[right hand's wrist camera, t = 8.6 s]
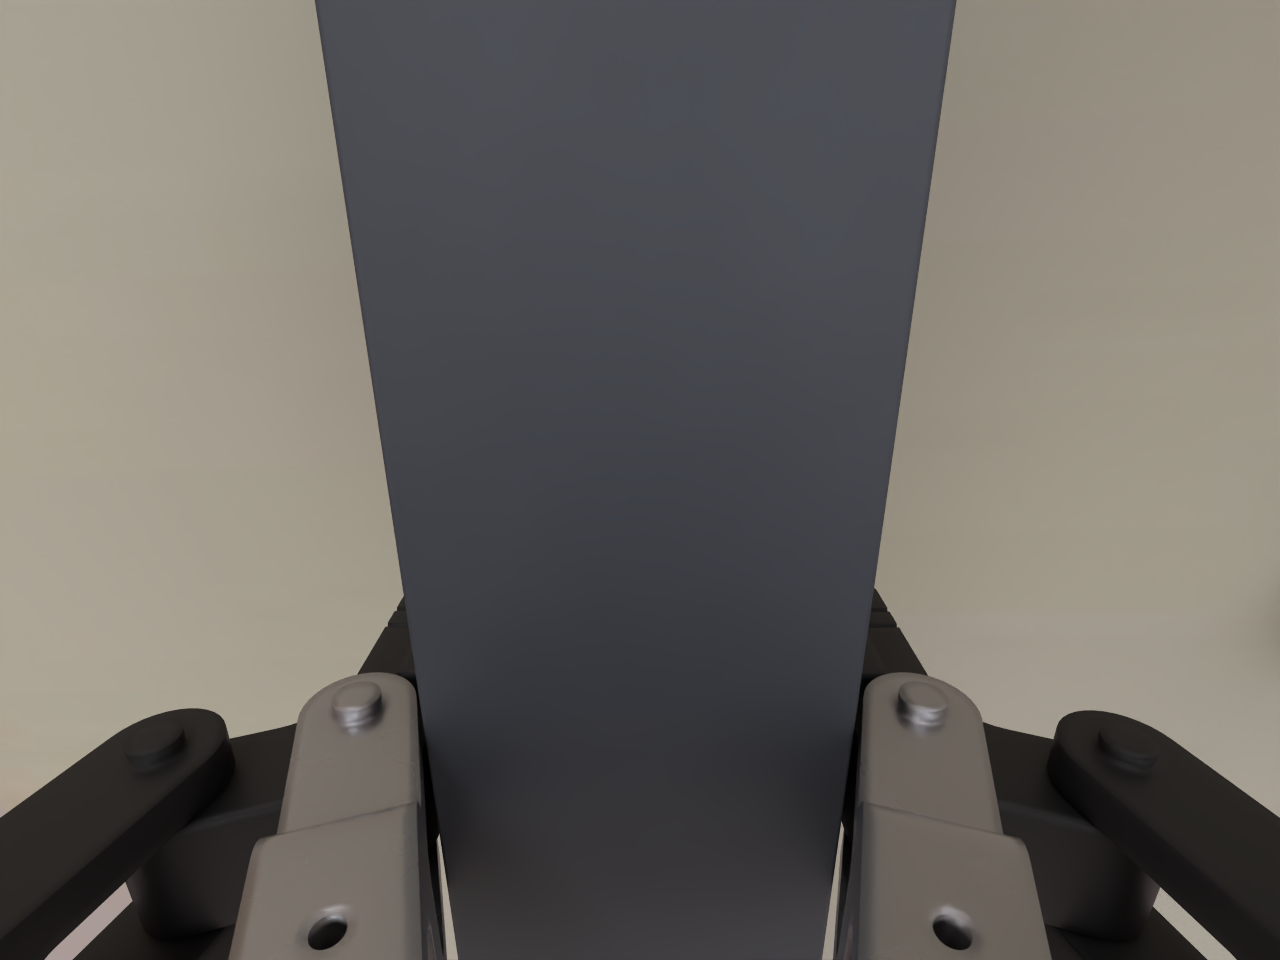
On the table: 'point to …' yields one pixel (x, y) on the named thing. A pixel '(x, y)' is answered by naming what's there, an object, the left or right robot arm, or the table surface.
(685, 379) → the post
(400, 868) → the right robot arm
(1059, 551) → the table surface
